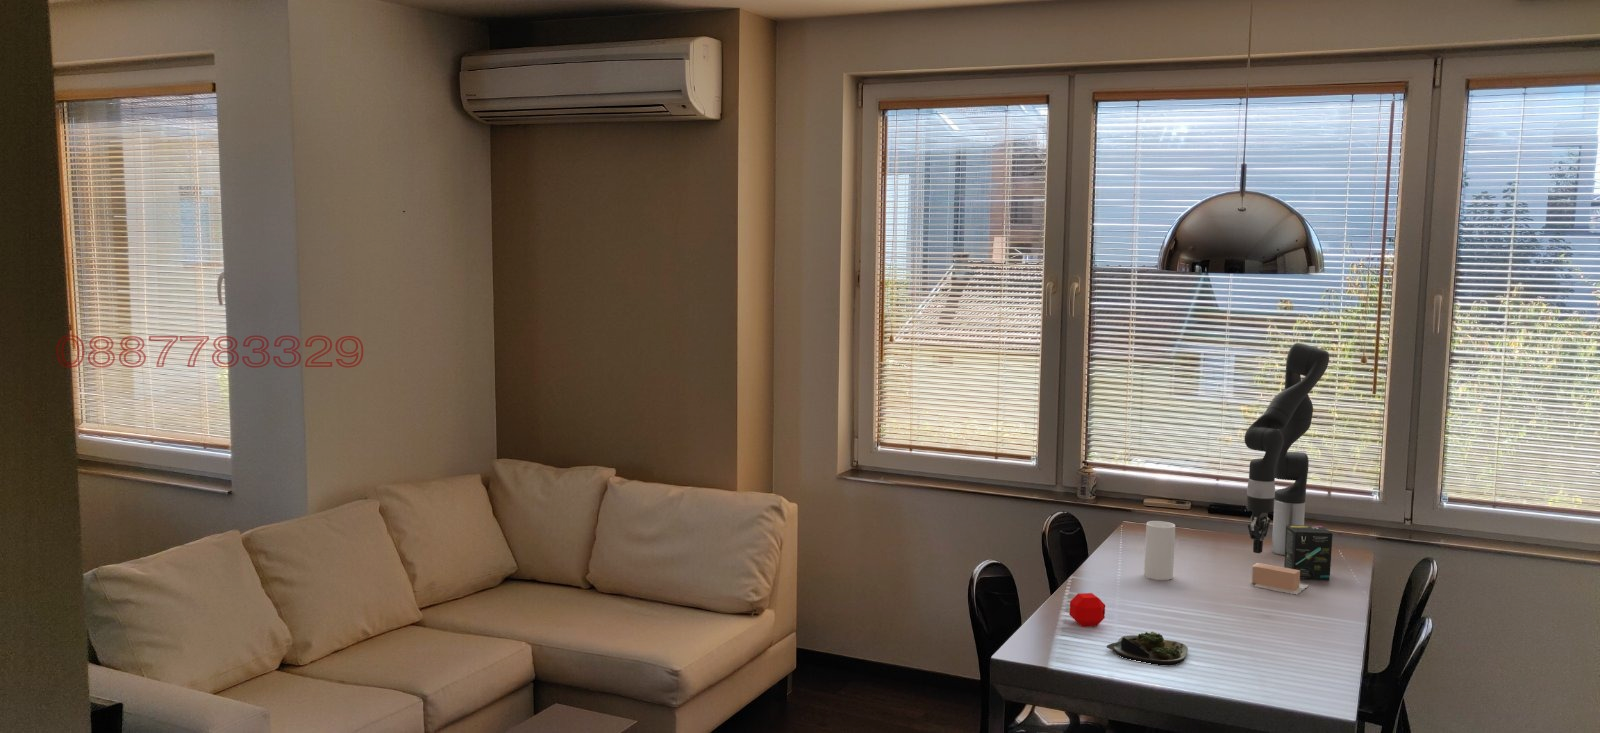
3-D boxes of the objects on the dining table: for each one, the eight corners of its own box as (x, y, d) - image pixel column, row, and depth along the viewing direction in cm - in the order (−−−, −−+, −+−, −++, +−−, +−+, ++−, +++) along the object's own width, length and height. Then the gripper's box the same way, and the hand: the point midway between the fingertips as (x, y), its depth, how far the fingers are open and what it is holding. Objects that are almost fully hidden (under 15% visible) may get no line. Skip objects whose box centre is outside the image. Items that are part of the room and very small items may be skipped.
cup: (1142, 578, 338) (1145, 525, 336) (1145, 571, 345) (1147, 519, 344) (1171, 581, 334) (1174, 528, 333) (1173, 574, 342) (1176, 522, 340)
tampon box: (1319, 572, 347) (1322, 525, 346) (1330, 580, 338) (1333, 532, 337) (1282, 570, 348) (1285, 524, 347) (1292, 579, 339) (1295, 531, 338)
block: (1257, 562, 337) (1300, 570, 329) (1257, 579, 337) (1299, 587, 330) (1252, 566, 333) (1294, 573, 325) (1251, 582, 334) (1293, 590, 326)
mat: (1266, 578, 339) (1266, 577, 339) (1308, 586, 331) (1308, 585, 331) (1253, 586, 331) (1253, 585, 331) (1296, 594, 323) (1296, 593, 323)
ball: (1107, 628, 291) (1109, 599, 290) (1078, 629, 290) (1079, 600, 289) (1094, 618, 299) (1095, 590, 298) (1066, 619, 298) (1067, 591, 297)
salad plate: (1121, 634, 288) (1121, 616, 288) (1194, 646, 279) (1195, 628, 279) (1102, 657, 271) (1103, 638, 271) (1179, 671, 263) (1180, 652, 262)
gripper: (1266, 500, 325) (1263, 559, 327) (1281, 493, 335) (1278, 550, 337) (1240, 496, 330) (1236, 554, 332) (1255, 489, 340) (1252, 546, 342)
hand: (1257, 552), depth 334 cm, fingers closed
